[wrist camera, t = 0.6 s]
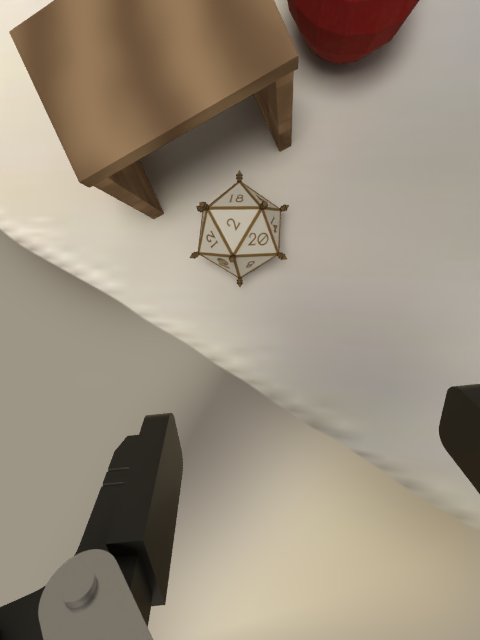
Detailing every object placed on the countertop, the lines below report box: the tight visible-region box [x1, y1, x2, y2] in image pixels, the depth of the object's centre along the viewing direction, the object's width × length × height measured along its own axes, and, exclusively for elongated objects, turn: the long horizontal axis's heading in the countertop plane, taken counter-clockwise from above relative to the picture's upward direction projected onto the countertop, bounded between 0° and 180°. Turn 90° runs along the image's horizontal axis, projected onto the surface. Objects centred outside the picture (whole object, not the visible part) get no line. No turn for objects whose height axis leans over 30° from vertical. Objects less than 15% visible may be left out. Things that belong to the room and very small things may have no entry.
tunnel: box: [10, 0, 298, 219], centre depth 27 cm, size 16×11×12 cm
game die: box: [190, 170, 289, 287], centre depth 30 cm, size 9×8×10 cm
